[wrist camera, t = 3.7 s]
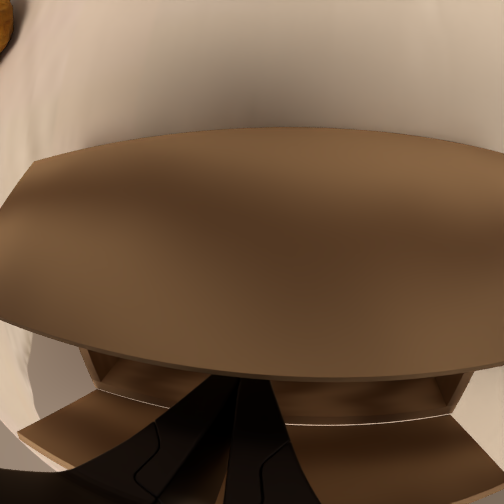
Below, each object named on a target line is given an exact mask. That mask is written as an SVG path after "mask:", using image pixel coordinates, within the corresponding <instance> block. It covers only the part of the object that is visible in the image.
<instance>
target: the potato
mask: <svg viewBox="0 0 504 504" xmlns="http://www.w3.org/2000/svg"><path fill="white" fill-rule="evenodd" d="M13 29H14V28H13V6H12V5H11V3H10V0H0V53H1V52H2V50H3V49H4V48H5V47H6V46H7V43H8V41H9V40H10V38H11V34H12V33H13Z"/></svg>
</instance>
